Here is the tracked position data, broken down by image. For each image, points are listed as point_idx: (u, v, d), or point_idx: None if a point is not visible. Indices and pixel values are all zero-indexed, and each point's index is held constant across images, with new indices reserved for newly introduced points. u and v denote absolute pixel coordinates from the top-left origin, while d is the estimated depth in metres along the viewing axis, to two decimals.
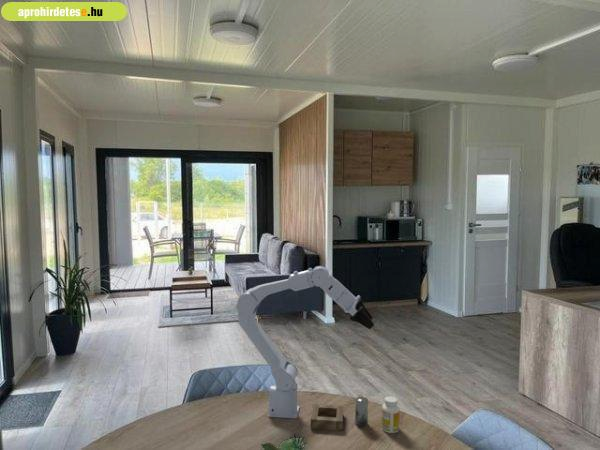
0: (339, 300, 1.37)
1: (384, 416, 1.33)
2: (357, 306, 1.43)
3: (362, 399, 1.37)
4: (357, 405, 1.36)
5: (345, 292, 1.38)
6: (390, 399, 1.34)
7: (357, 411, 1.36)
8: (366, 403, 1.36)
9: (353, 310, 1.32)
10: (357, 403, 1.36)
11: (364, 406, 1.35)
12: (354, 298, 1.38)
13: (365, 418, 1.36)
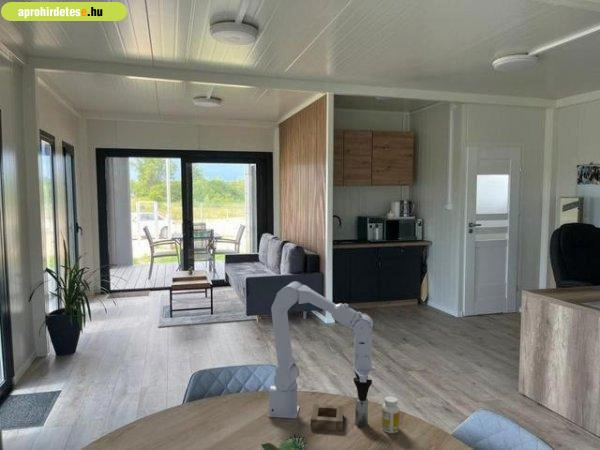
0: (359, 358, 1.34)
1: (384, 416, 1.33)
2: None
3: None
4: (357, 405, 1.36)
5: (369, 357, 1.34)
6: (390, 399, 1.34)
7: (357, 411, 1.36)
8: (366, 403, 1.36)
9: (364, 378, 1.29)
10: (357, 403, 1.36)
11: (364, 406, 1.35)
12: (370, 367, 1.35)
13: (365, 418, 1.36)
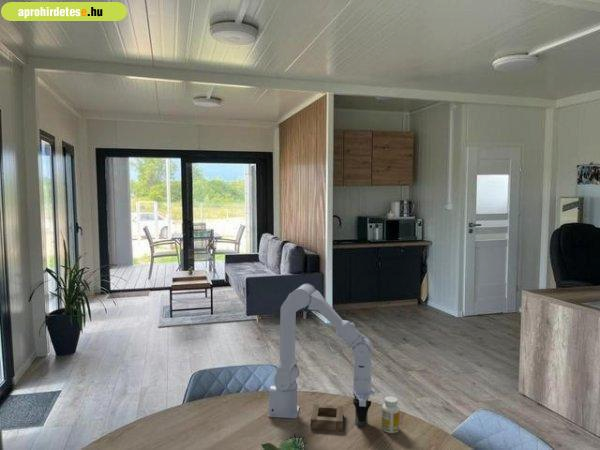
0: (358, 381, 1.34)
1: (384, 416, 1.33)
2: None
3: None
4: None
5: (368, 380, 1.34)
6: (390, 399, 1.34)
7: None
8: None
9: (364, 403, 1.30)
10: None
11: None
12: (370, 390, 1.35)
13: None
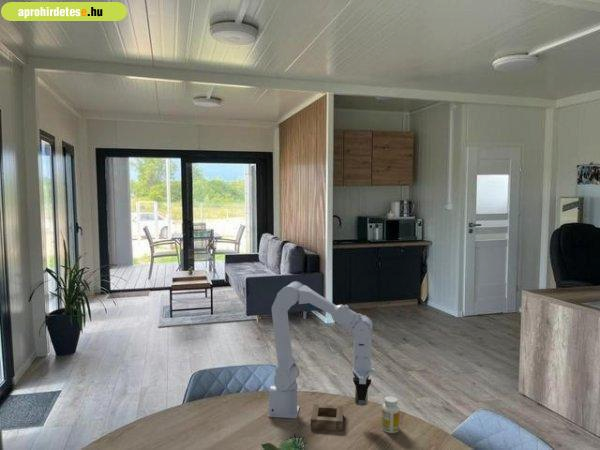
0: (358, 359, 1.34)
1: (384, 416, 1.33)
2: None
3: None
4: None
5: (368, 358, 1.34)
6: (390, 399, 1.34)
7: None
8: None
9: (364, 380, 1.29)
10: None
11: None
12: (370, 369, 1.35)
13: None
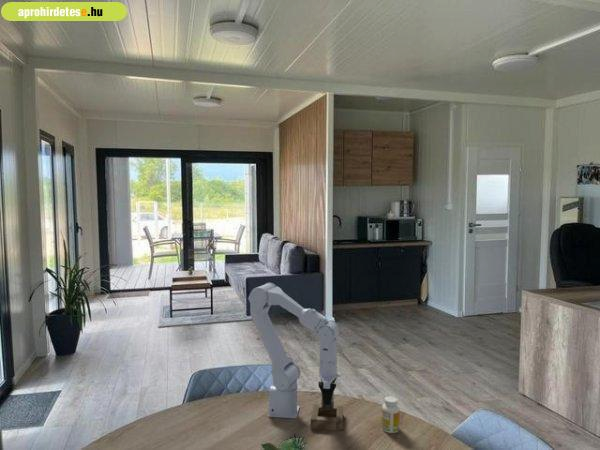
0: (324, 364, 1.35)
1: (384, 416, 1.33)
2: None
3: None
4: None
5: (334, 363, 1.35)
6: (390, 399, 1.34)
7: None
8: None
9: (328, 385, 1.31)
10: None
11: None
12: (335, 373, 1.36)
13: (331, 401, 1.37)
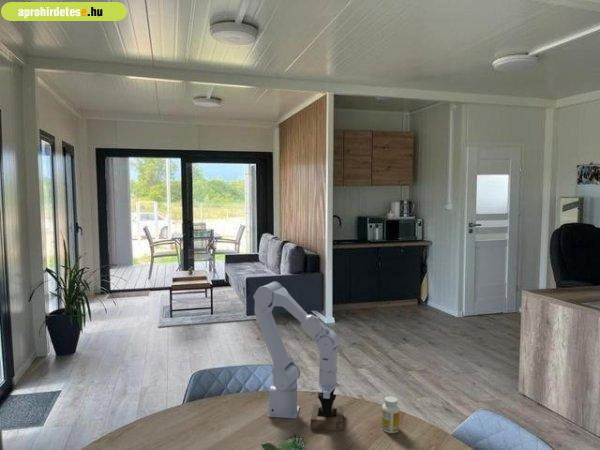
0: (324, 374, 1.35)
1: (384, 416, 1.33)
2: None
3: None
4: None
5: (333, 372, 1.36)
6: (390, 399, 1.34)
7: None
8: None
9: (328, 395, 1.31)
10: None
11: None
12: (335, 382, 1.36)
13: (330, 414, 1.37)
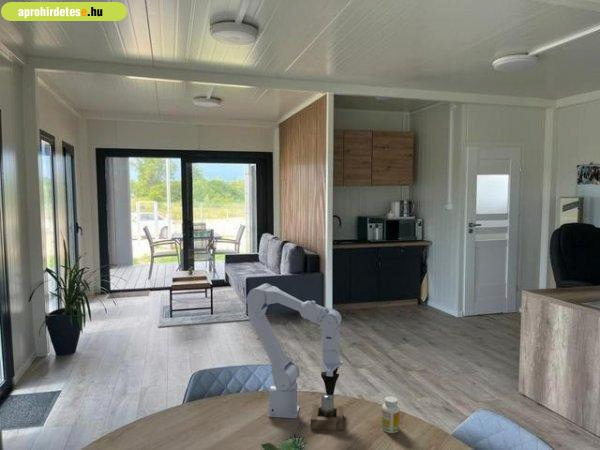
0: (326, 352, 1.36)
1: (384, 416, 1.33)
2: None
3: (328, 395, 1.39)
4: (323, 401, 1.37)
5: (336, 351, 1.36)
6: (390, 399, 1.34)
7: (323, 407, 1.37)
8: (332, 399, 1.37)
9: (331, 372, 1.31)
10: (323, 399, 1.37)
11: (329, 403, 1.37)
12: (338, 361, 1.37)
13: (331, 414, 1.37)
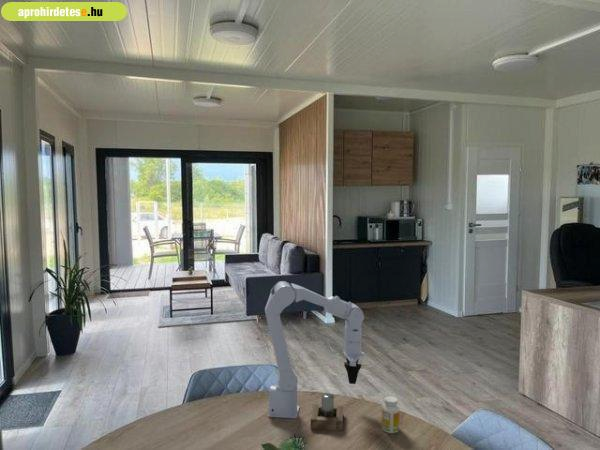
0: (349, 344, 1.44)
1: (384, 416, 1.33)
2: None
3: (328, 395, 1.39)
4: (323, 401, 1.37)
5: (359, 343, 1.44)
6: (390, 399, 1.34)
7: (323, 407, 1.37)
8: (332, 399, 1.37)
9: (354, 363, 1.39)
10: (323, 399, 1.37)
11: (329, 403, 1.37)
12: (360, 352, 1.45)
13: (331, 414, 1.37)
